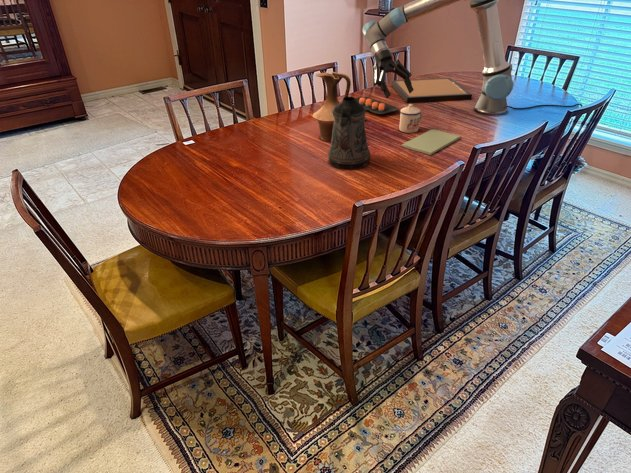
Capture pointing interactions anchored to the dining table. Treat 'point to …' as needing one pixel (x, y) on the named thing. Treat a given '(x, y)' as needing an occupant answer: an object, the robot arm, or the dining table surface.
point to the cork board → (431, 90)
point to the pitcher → (329, 103)
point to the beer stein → (348, 136)
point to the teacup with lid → (410, 119)
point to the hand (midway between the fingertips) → (400, 94)
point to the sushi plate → (376, 106)
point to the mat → (431, 141)
